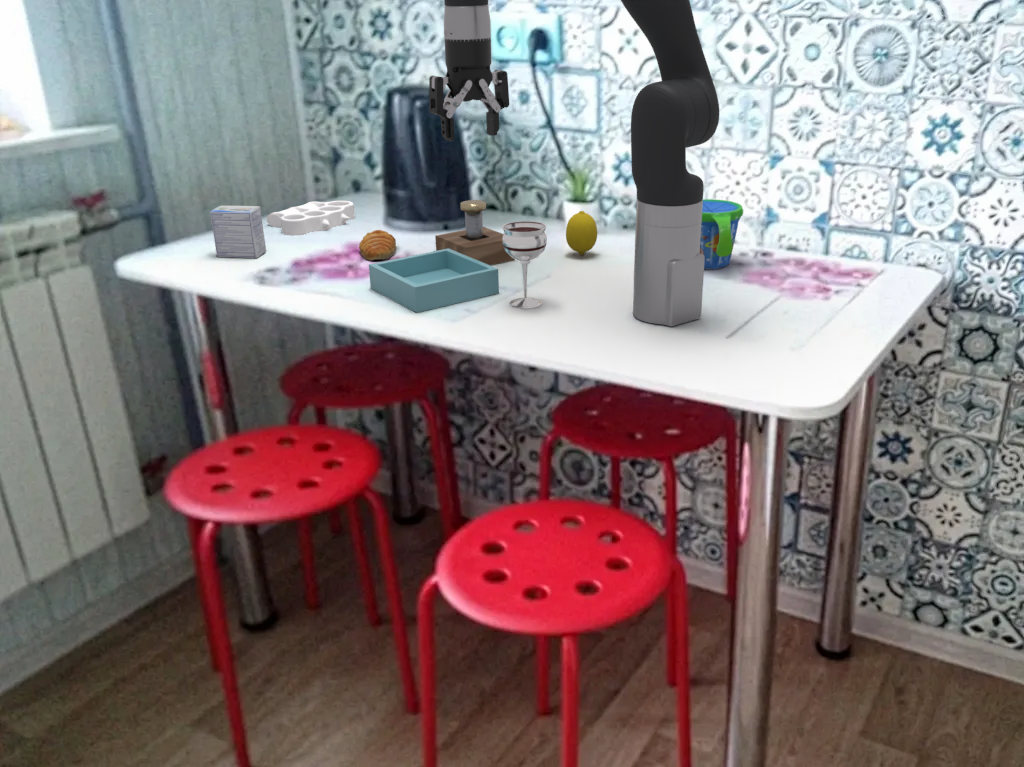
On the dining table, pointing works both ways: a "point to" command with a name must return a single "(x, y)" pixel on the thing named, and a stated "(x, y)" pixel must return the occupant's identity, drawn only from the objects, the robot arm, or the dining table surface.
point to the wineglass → (524, 251)
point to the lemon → (581, 232)
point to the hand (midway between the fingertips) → (471, 137)
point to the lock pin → (473, 218)
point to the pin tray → (433, 279)
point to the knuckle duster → (312, 217)
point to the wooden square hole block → (476, 246)
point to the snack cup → (718, 231)
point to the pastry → (377, 245)
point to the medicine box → (238, 231)
